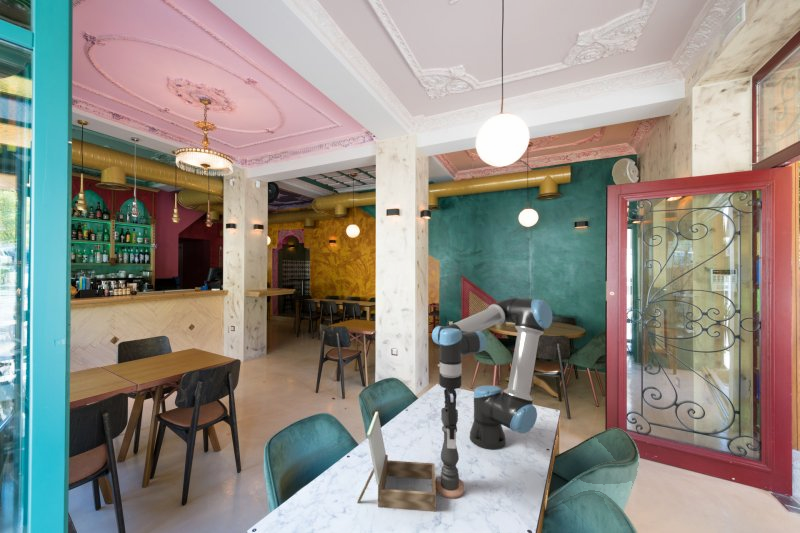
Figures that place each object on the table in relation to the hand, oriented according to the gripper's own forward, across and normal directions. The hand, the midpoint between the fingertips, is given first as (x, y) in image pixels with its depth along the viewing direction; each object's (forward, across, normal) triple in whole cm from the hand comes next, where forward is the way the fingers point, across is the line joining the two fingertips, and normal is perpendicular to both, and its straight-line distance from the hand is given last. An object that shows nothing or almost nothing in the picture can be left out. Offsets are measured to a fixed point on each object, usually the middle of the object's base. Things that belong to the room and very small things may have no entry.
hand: (449, 437), depth 105 cm
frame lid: (+10, +3, -25) cm, 27 cm away
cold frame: (+17, +3, -17) cm, 25 cm away
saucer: (+17, 0, 0) cm, 17 cm away
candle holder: (+16, 0, 0) cm, 16 cm away
